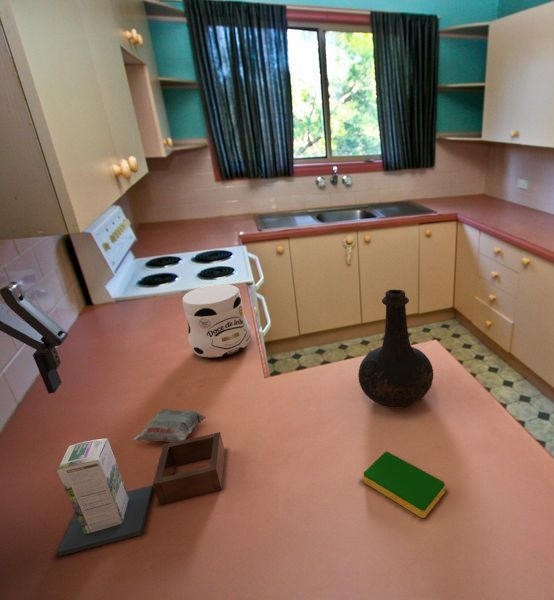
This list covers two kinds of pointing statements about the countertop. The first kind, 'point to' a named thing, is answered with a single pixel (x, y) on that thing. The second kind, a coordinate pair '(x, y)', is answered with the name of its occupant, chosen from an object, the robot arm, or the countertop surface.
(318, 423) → the countertop surface
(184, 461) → the holder
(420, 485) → the dish sponge
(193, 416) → the packaged food
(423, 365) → the glass bottle
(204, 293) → the doce de leite jar
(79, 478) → the syrup box
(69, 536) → the mat
